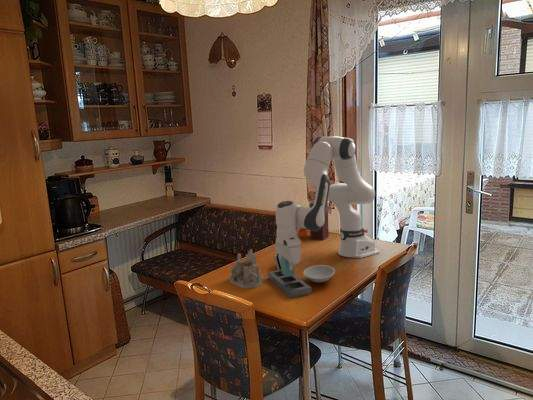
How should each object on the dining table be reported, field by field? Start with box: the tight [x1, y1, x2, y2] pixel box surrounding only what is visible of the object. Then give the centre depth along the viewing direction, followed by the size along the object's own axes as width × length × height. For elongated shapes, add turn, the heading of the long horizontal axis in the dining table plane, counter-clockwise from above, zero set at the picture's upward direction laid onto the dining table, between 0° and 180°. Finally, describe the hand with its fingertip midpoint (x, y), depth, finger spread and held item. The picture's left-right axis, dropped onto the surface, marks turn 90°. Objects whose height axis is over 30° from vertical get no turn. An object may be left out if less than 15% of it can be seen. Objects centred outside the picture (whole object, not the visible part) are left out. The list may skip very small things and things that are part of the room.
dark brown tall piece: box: [308, 200, 330, 241], centre depth 259 cm, size 9×11×28 cm
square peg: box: [281, 256, 296, 276], centre depth 187 cm, size 4×4×8 cm
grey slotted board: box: [267, 269, 312, 299], centre depth 188 cm, size 10×26×3 cm, turn 21°
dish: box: [302, 264, 336, 283], centre depth 191 cm, size 18×14×5 cm
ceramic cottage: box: [229, 248, 264, 289], centre depth 194 cm, size 16×16×15 cm
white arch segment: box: [274, 252, 297, 270], centre depth 215 cm, size 17×5×10 cm, turn 151°
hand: (287, 267), depth 187 cm, fingers closed on square peg, 4 cm apart
